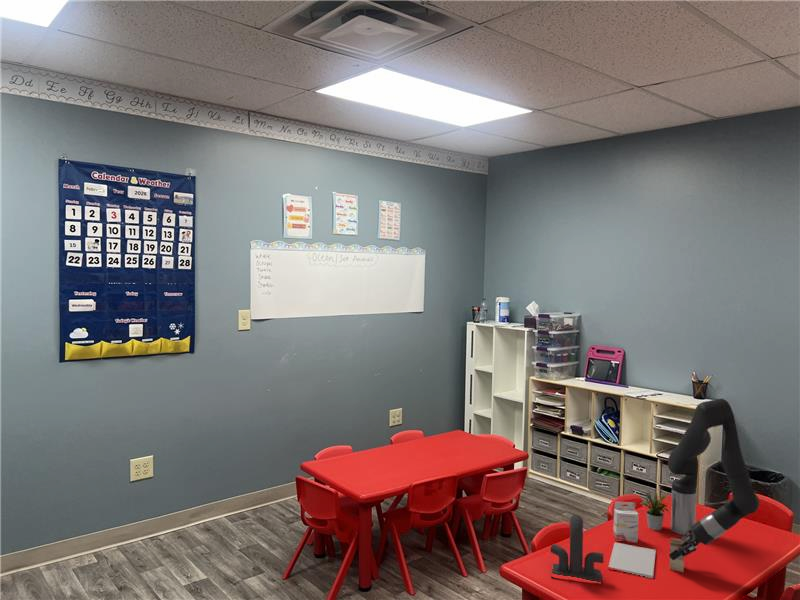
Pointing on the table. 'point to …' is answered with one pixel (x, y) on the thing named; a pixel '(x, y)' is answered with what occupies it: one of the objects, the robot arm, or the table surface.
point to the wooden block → (678, 562)
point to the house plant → (655, 511)
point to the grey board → (633, 559)
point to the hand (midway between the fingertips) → (671, 554)
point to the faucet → (577, 555)
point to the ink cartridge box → (625, 522)
